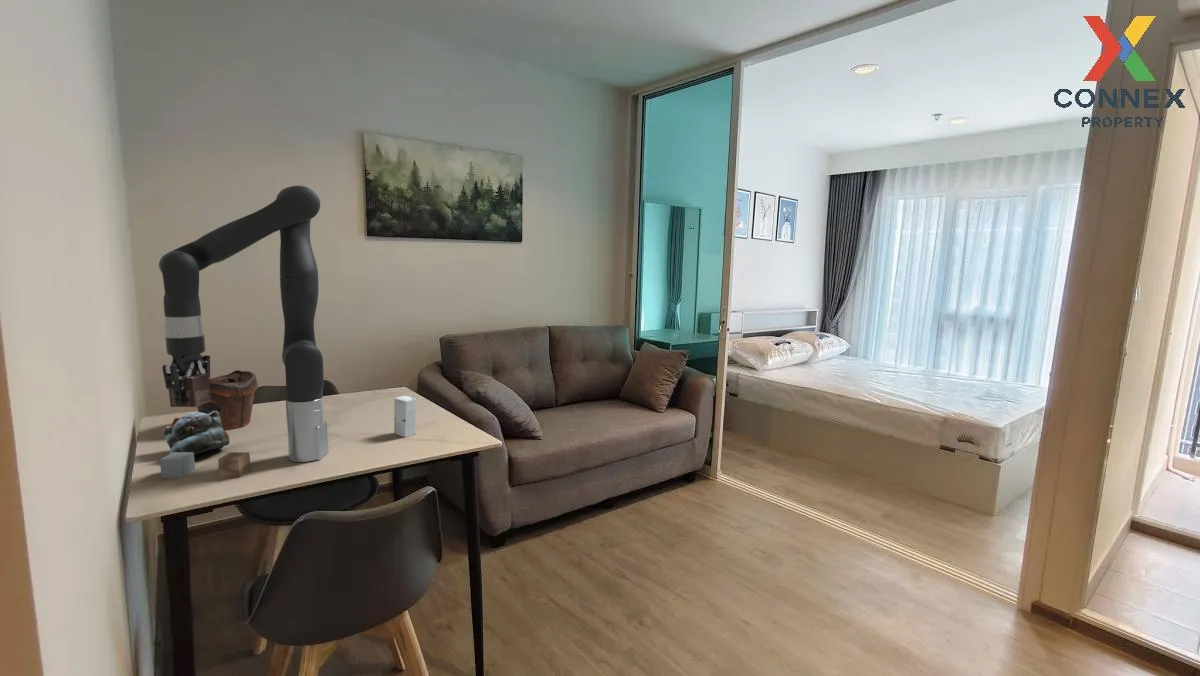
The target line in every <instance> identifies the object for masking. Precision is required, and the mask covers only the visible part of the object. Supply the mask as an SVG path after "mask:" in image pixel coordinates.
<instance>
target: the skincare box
mask: <svg viewBox="0 0 1200 676" xmlns="http://www.w3.org/2000/svg"><path fill="white" fill-rule="evenodd" d="M393 402H394V404H393V405H394V407H393V408H394V409H393V410H394V411H393V418H394V419H393V422H394V423H393V424H394V425H393V428H394V429H393V433H394V435H397V436H399V437H402V438H408V437H411V436H414V435H416V432H417V426H416V424H417V423H416V422H417V399H416V398H414V397H412V396H408V395H402V396H397V397H394V400H393Z"/></svg>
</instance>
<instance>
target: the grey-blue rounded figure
mask: <svg viewBox="0 0 1200 676" xmlns="http://www.w3.org/2000/svg"><path fill="white" fill-rule="evenodd" d="M220 419H221V418H220V415H219V412H217V411H213V412H211V413H210V412H209V411H208V409H205V408H204V409H202V410H200V411H199V412H198V411H197V412H191V413H187V414H186V415H183V416H181V417H176V418H175V417H174V419H173V421H172V422H171V424H170V425H169V426H165V428H164V429H162V433H163V436H164V437H165V441H166V444H167V445H168V447H169V452H168V453H169V454H171V453H173V452H194V456H195V455H198V454H201V453H206V452H209V451H212V450H213V451H214V450H219V449H223V448H224V447H226V446H229V445H230V436H229V434H228V432H227V430H223V428H222V424H221V420H220ZM169 454H168V455H169Z"/></svg>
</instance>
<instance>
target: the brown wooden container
mask: <svg viewBox="0 0 1200 676" xmlns="http://www.w3.org/2000/svg"><path fill="white" fill-rule="evenodd" d="M209 385H210V395H211V401H209V402H207V403H204V404H202V405H200V406H197V407H196V408H197V412H199V411H200V410H202V409H204V408H205V409H208V411H209V412H210V413H211V412H213V411H217V412H219V415H220V418H221V419H220V420H221V424H222V428H223V430H225V431H228V430H234V429H238V428H239V429H240V428H243V427H245V426H247V425H249V424H251V423H250V422H251V420H252V419H251V417H252V410H253V405H254V399H255V393H256V391H257V389H258V387H259V385H258V381H257V377H256V374H255V373H253V371H250V370H249V371H248V370H247V371H246V370H240V369H239V370H234V371H232V372H230V373H229V374H225V375H220V376H216V377H210V378H209Z"/></svg>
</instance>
